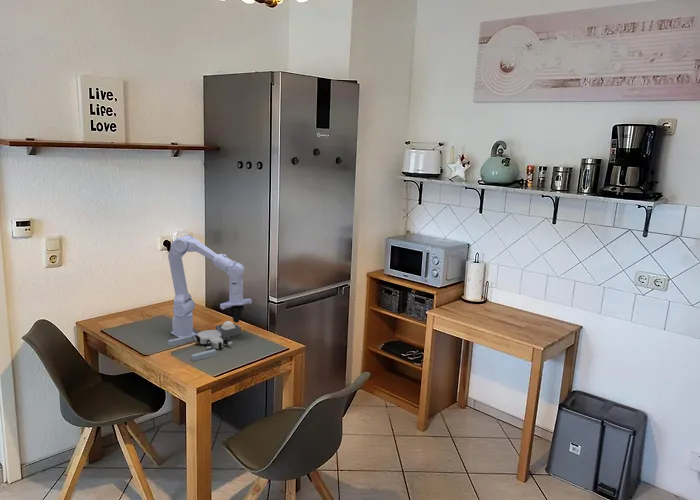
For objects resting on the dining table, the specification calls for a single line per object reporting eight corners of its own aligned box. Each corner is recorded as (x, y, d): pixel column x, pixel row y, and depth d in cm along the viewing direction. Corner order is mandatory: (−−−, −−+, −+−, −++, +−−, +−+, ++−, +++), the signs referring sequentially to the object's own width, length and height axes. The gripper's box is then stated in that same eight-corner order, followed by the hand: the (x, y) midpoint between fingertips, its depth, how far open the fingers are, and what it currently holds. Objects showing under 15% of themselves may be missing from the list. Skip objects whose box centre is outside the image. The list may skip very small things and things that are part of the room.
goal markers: (167, 344, 224) (167, 340, 224) (190, 339, 231) (190, 335, 231) (193, 361, 209) (193, 356, 209) (216, 355, 216) (216, 350, 215)
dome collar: (215, 332, 241) (215, 325, 240) (231, 329, 246) (231, 322, 246) (225, 337, 235) (225, 330, 235) (240, 333, 241) (240, 326, 240)
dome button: (218, 331, 241) (218, 320, 240) (230, 328, 245) (230, 318, 244) (225, 334, 236) (225, 324, 236) (237, 331, 241) (237, 321, 240)
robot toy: (234, 349, 225) (217, 336, 236) (234, 339, 224) (217, 326, 235) (206, 355, 217) (191, 342, 228) (207, 345, 216) (191, 332, 227)
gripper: (226, 296, 223) (226, 327, 225) (255, 291, 233) (255, 320, 235) (217, 292, 228) (217, 323, 230) (246, 287, 238) (246, 316, 240)
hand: (236, 321), depth 233 cm, fingers closed
